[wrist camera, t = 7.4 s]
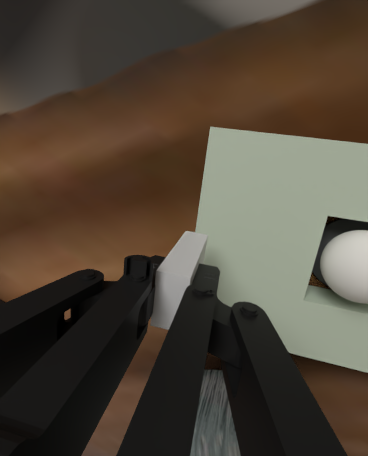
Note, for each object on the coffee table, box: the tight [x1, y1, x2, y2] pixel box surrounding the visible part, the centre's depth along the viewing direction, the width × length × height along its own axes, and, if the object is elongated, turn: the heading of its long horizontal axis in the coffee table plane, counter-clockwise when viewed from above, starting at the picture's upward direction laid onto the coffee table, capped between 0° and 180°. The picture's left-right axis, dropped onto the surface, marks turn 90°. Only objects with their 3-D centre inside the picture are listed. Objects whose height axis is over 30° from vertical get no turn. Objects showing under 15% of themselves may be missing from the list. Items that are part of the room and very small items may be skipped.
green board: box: [195, 127, 368, 373], centre depth 20 cm, size 18×16×3 cm
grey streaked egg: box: [190, 369, 241, 456], centre depth 23 cm, size 14×10×10 cm
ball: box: [320, 230, 368, 304], centre depth 18 cm, size 5×5×5 cm
